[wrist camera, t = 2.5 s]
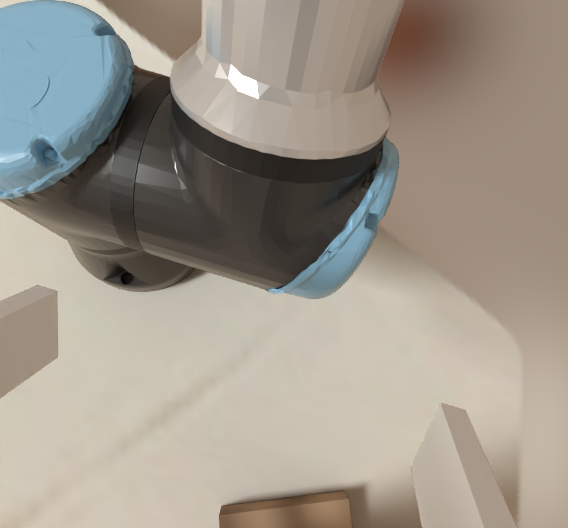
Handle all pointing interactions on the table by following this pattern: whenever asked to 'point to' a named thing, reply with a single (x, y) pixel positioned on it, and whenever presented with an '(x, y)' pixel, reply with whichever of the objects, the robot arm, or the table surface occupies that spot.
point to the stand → (290, 512)
